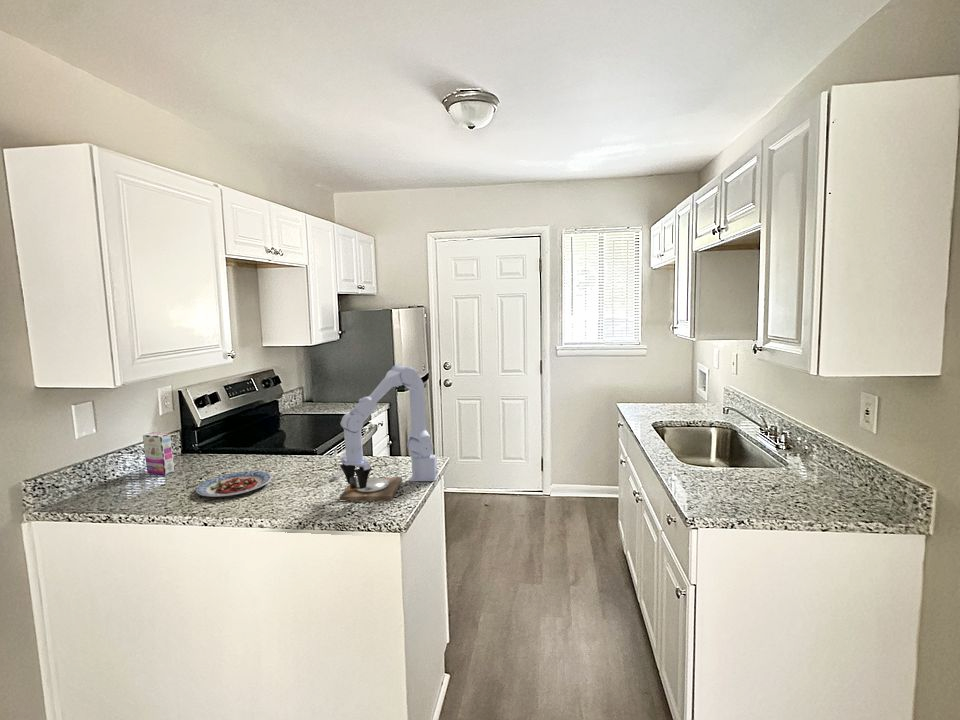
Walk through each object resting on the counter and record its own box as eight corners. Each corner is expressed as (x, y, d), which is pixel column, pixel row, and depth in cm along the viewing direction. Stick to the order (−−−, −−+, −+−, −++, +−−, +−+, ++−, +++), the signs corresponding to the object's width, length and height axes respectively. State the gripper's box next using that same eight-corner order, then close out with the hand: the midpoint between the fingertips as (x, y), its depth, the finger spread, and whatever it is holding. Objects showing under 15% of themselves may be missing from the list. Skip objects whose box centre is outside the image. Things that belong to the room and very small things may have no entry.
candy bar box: (176, 471, 219) (171, 433, 216) (165, 475, 214) (160, 436, 212) (157, 469, 223) (153, 431, 221) (146, 473, 218) (141, 434, 216)
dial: (384, 478, 195) (383, 465, 195) (392, 488, 184) (391, 475, 184) (346, 485, 190) (345, 472, 189) (352, 496, 179) (351, 482, 178)
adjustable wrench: (335, 483, 199) (335, 478, 198) (321, 481, 201) (320, 477, 200) (368, 461, 222) (368, 457, 222) (355, 460, 224) (355, 456, 224)
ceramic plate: (286, 478, 206) (285, 470, 205) (239, 504, 181) (239, 495, 181) (231, 474, 213) (230, 467, 212) (179, 499, 188) (178, 491, 188)
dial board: (402, 481, 196) (401, 476, 196) (391, 500, 178) (391, 495, 178) (355, 482, 197) (354, 477, 197) (339, 501, 179) (339, 496, 179)
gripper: (332, 447, 183) (335, 484, 185) (356, 454, 173) (359, 493, 175) (349, 442, 188) (352, 478, 190) (373, 449, 178) (376, 487, 180)
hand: (357, 485), depth 183 cm, fingers open, 7 cm apart
